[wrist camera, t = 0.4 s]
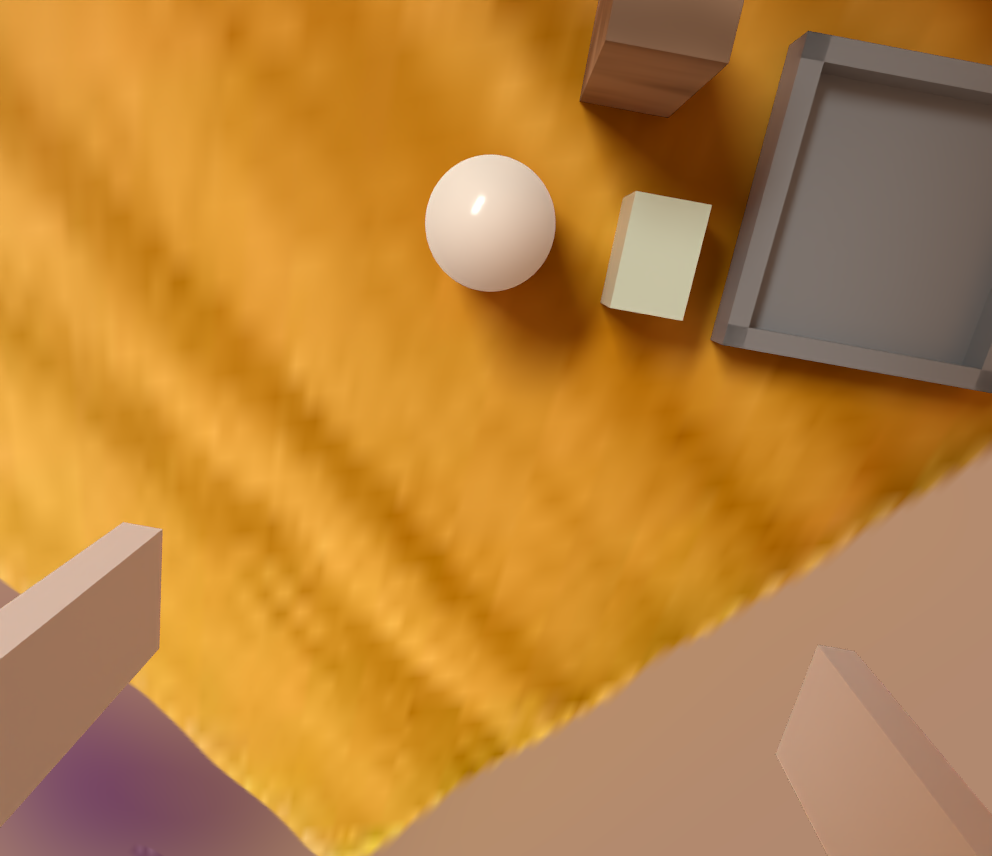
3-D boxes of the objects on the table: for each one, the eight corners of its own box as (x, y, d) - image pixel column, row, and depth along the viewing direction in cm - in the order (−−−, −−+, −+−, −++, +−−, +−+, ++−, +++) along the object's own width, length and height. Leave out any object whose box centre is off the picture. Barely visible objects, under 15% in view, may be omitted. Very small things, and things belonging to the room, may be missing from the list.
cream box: (622, 198, 36) (635, 190, 32) (690, 210, 36) (712, 204, 32) (600, 302, 37) (610, 307, 33) (665, 314, 37) (682, 321, 33)
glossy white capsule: (448, 162, 35) (435, 143, 29) (558, 182, 35) (567, 167, 30) (432, 275, 37) (417, 279, 31) (537, 294, 37) (541, 301, 31)
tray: (789, 45, 33) (808, 30, 31) (1078, 99, 33) (1116, 89, 31) (710, 339, 37) (722, 344, 35) (966, 385, 38) (993, 393, 36)
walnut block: (598, -2, 33) (634, -109, 23) (691, 16, 33) (764, -84, 23) (579, 101, 34) (605, 40, 24) (668, 117, 34) (728, 63, 25)
